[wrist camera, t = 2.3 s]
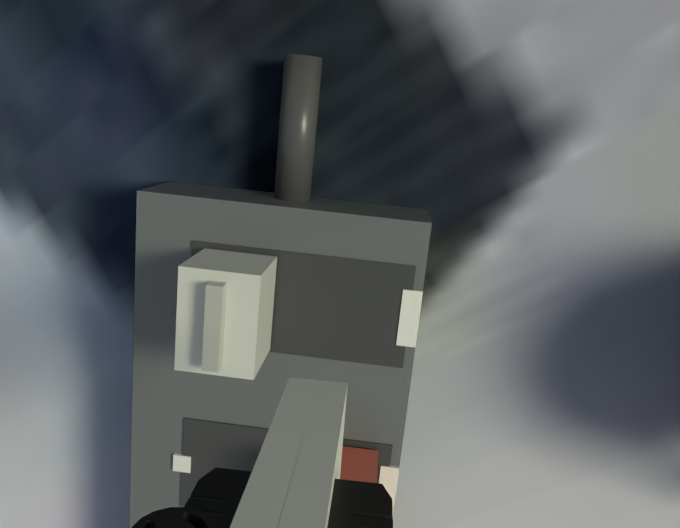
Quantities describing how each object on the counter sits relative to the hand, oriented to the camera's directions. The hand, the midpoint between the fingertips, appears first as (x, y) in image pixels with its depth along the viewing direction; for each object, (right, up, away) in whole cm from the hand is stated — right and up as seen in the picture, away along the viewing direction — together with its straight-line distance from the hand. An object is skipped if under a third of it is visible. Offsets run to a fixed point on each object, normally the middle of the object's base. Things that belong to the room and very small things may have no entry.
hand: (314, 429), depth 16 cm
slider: (-4, +3, +10) cm, 11 cm away
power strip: (-2, -1, +15) cm, 15 cm away
